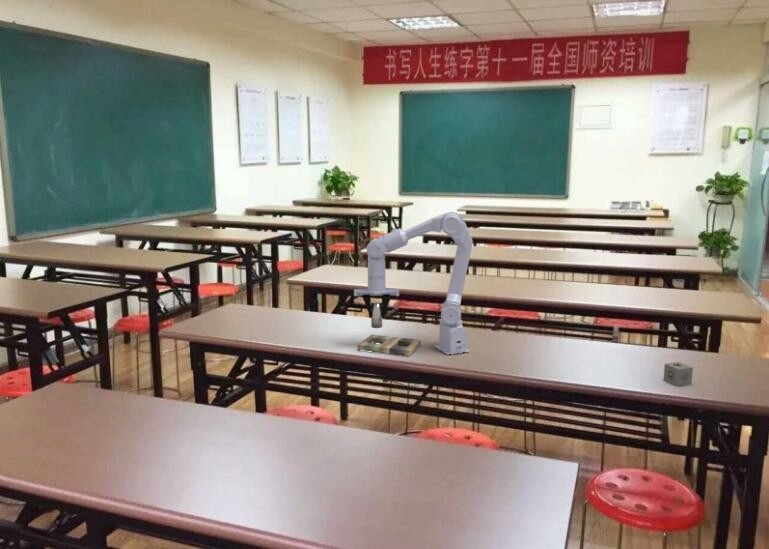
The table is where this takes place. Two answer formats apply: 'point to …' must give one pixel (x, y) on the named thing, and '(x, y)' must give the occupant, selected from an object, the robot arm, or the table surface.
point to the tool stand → (390, 345)
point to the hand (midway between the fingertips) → (376, 317)
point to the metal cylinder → (376, 314)
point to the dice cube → (678, 374)
